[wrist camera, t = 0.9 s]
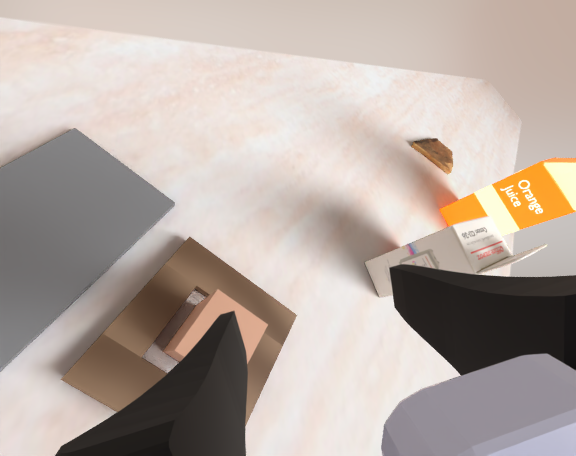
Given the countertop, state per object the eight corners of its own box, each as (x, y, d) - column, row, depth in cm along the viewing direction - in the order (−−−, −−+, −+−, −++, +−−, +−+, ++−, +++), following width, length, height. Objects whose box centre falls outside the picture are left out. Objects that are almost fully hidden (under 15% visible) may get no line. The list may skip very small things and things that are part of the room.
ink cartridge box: (402, 247, 38) (524, 200, 26) (417, 281, 37) (552, 247, 25) (362, 260, 33) (488, 209, 22) (378, 299, 32) (521, 268, 20)
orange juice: (438, 208, 47) (597, 133, 31) (460, 200, 52) (606, 132, 36) (461, 249, 45) (641, 192, 29) (481, 237, 50) (645, 183, 34)
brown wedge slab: (407, 146, 51) (415, 140, 50) (408, 123, 55) (416, 117, 54) (445, 177, 54) (454, 172, 52) (444, 153, 58) (452, 148, 57)
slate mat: (-15, 386, 15) (-20, 387, 15) (-202, 285, 14) (-214, 282, 13) (174, 205, 25) (175, 202, 24) (76, 132, 23) (75, 127, 22)
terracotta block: (206, 379, 21) (234, 388, 15) (162, 351, 20) (174, 350, 14) (234, 331, 23) (268, 324, 17) (196, 305, 22) (217, 289, 17)
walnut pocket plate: (218, 466, 19) (223, 472, 18) (64, 378, 17) (60, 379, 16) (290, 316, 26) (297, 315, 25) (187, 241, 24) (189, 236, 23)
